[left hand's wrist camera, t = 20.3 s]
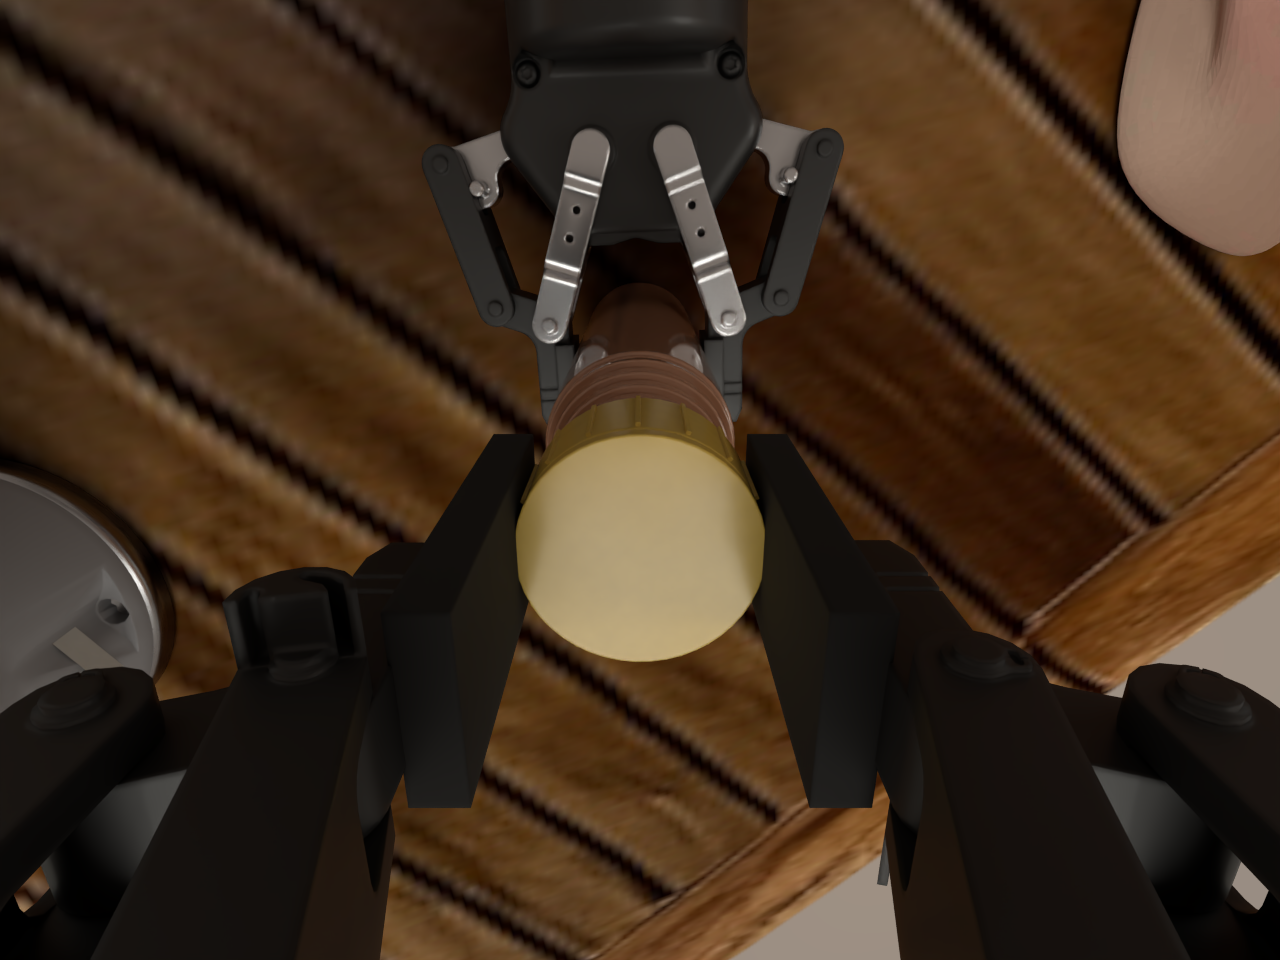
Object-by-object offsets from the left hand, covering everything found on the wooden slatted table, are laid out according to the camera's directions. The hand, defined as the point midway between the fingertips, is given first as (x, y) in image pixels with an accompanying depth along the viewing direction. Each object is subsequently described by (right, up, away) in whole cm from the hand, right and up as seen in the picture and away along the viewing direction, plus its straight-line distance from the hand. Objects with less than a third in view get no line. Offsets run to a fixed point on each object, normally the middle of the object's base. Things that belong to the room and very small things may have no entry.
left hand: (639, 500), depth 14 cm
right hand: (0, +2, +13) cm, 14 cm away
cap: (0, -1, -2) cm, 2 cm away
